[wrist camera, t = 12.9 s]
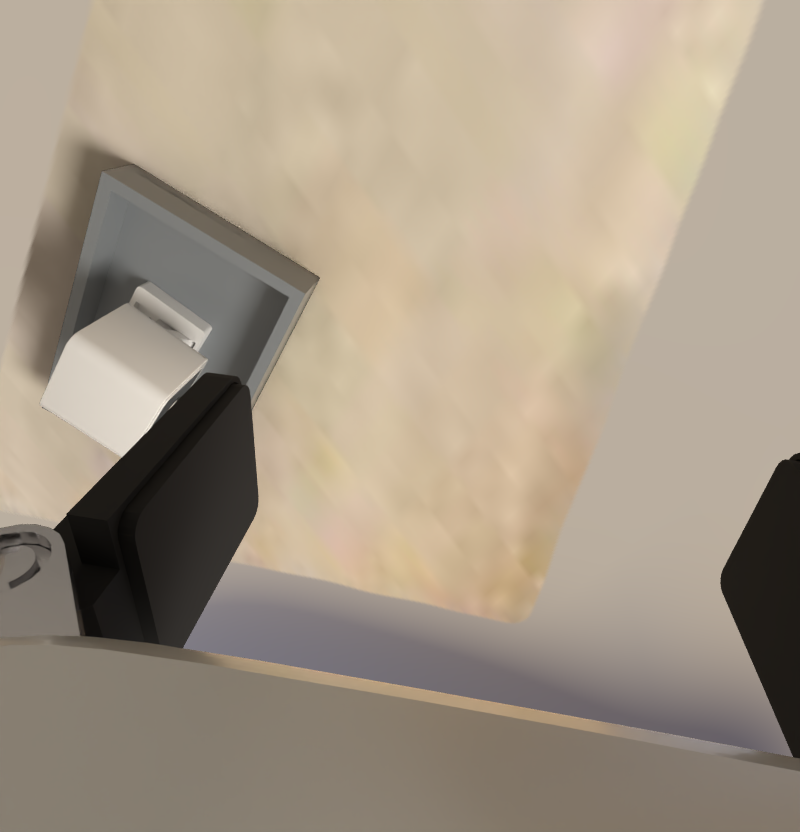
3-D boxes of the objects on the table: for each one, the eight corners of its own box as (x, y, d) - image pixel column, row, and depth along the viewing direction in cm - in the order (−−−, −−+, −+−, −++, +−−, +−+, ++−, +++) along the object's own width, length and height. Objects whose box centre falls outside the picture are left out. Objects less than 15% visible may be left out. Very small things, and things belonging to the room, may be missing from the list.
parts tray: (133, 164, 37) (101, 171, 34) (319, 277, 39) (305, 293, 36) (70, 387, 47) (41, 407, 44) (221, 468, 49) (203, 493, 46)
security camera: (196, 393, 45) (124, 466, 36) (117, 338, 43) (23, 401, 35) (234, 335, 41) (165, 401, 33) (150, 274, 40) (55, 326, 32)
